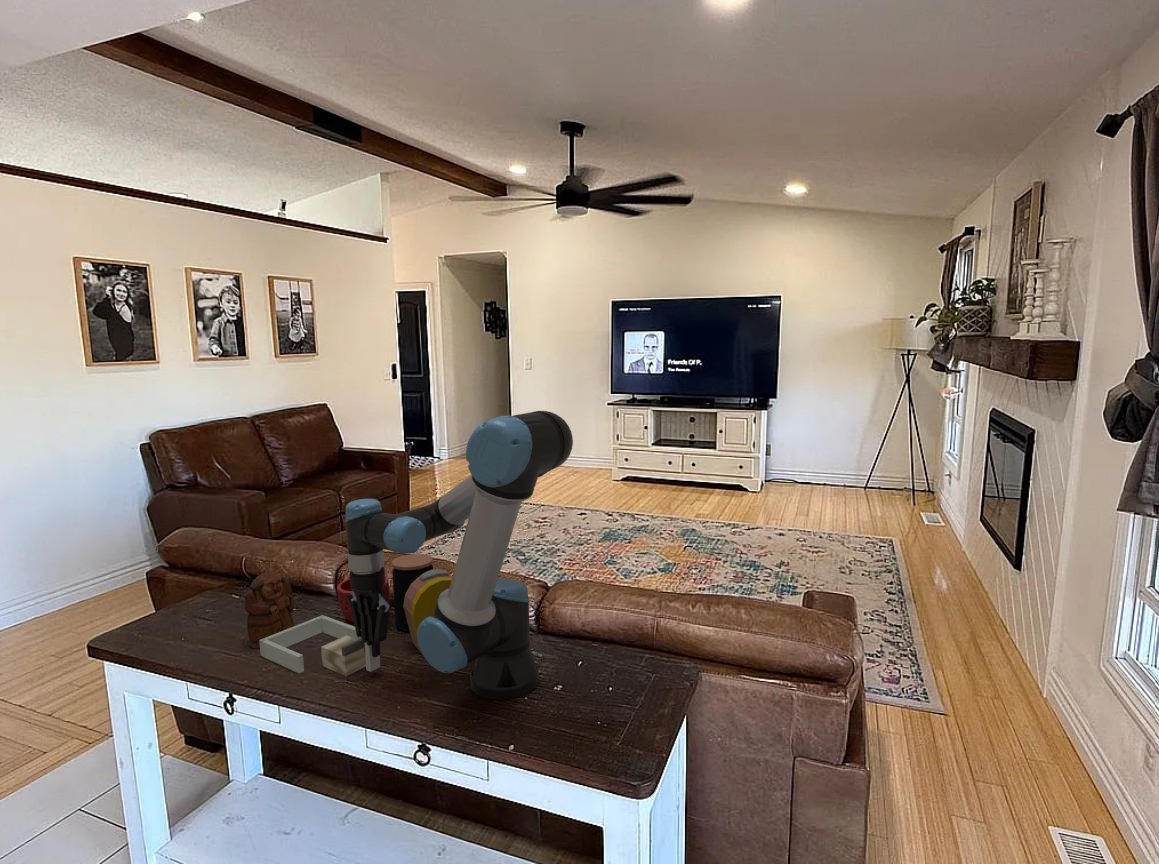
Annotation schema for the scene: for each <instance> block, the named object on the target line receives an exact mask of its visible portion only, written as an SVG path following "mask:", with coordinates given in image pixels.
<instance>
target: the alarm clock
mask: <svg viewBox="0 0 1159 864" xmlns="http://www.w3.org/2000/svg"><path fill="white" fill-rule="evenodd" d="M433 569H434V568H433ZM452 577H453V575H452V574H450V573H449V572H448V571H447V570H446V569H441V568H439V569H437V568H436V569H434V570H430V571H427V572H425V573H423V574H422V575H421V576H419V577H418V578H417V579H416V580H415V581H414V582H413V583H412V584H411V585H410V587H409V589H408V590H407V592H406V594H405V599H404V606H403V607H404V610H405V614H406V618H407V622H408V626H409V630H410V632H409V633H410V634H409V635H410V637H411V642H412V644H413V645H414V646H415V648H416V649H417V650H418V651H419V652H420V653H421V654H422V651H421V649H420V647H419V644H418V638H417V631H418V627H419V625H420V623H421V622H422V621H423V620H425V618H427V617H431V616H432V615H433V614H434V612H435V609H436V605H437V601H438V598H439V596H440V594H441V593H442V592H443V591H445V590H446V589H449V588H450V584H451V580H452Z"/></svg>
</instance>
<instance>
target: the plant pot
mask: <svg viewBox="0 0 1159 864" xmlns="http://www.w3.org/2000/svg"><path fill="white" fill-rule="evenodd" d="M336 590H337V591H336V592H337V598H338V599H337V600H338V603H339V606H340V610H341V613H342V615H343V616H344V619H343V623H346V624H348V625H351V626H354V627H355V625H354V621H353V616H352V611H351V607H350V604H349V601H348V599H347V595H349V594H352V593H354V590H353V589H352V588H351V587H350V577H348V578H346V579H344V580H342V581H340V582H339V583H338V584H337V587H336ZM382 591H383V594H384V598H383V599H384V600H385V601H386V602H387V603H388V602H390V584H389V578H388V577H387V576H386V575H385V584H384V585H383V587H382Z"/></svg>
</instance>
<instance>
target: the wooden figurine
mask: <svg viewBox="0 0 1159 864" xmlns="http://www.w3.org/2000/svg"><path fill="white" fill-rule="evenodd" d="M249 588H250V589H249V590H247V591H246V593H245V595H244V610H245V612H246V613H247V614H248V615H247V619H246V627H247V635H248V639H249V642H250V643H249V644H250V647H251V648H252V649H260V642H259V640H261V639H264V638H266V637H269V636H271V635H274V634H276V633H279V632H281V631H284V630H286V629H289V628H291V627H294V626H295V623H294V619H293V616H292V613H293V612H294V608H295V601H294V596H293V590H292V585H291V581H290V579H289V578H287V577H284V576H283V575H282V574H280V573H278V572H275V571H267V572H263V573H261V574H259V575H258V576H256V577H255V578H254V579H253V580H252V581H251V583H250V585H249Z"/></svg>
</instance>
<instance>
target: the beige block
mask: <svg viewBox="0 0 1159 864" xmlns="http://www.w3.org/2000/svg"><path fill="white" fill-rule="evenodd" d="M320 650H321V662H322V667H323V668H326V669H329V670H331V671H334V672H336V673H338V674H340V675H341V676H343V677H344V676H345V677H349V676H350V675H352V674H354V673H356V672H357V671H361V670H362V669H364V668H366V656H365V652H364V642H363V641H362V638H360V639H358V640H357V639H355V638H352V637H350V636H347V635H346V636H344V637H342V638H340V639H339V638H336V639H335V640H333V641H330V642H328V643H326V644H324V645H322V646H321V647H320Z"/></svg>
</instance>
